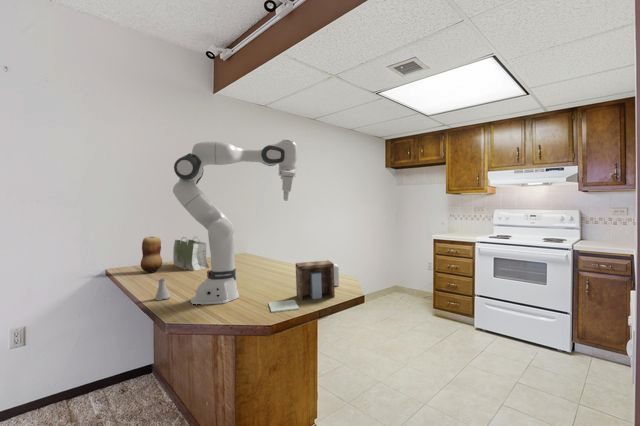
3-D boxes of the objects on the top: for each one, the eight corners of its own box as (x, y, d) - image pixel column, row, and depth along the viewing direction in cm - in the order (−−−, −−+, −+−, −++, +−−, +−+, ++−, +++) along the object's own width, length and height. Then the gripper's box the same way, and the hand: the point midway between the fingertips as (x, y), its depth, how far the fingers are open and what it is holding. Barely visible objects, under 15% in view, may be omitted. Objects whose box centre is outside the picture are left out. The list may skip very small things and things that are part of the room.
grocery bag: (210, 267, 232) (209, 236, 231) (192, 271, 222) (191, 238, 221) (190, 263, 253) (188, 234, 252) (172, 266, 243) (171, 236, 242)
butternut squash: (156, 274, 216) (154, 237, 215) (137, 274, 216) (135, 238, 215) (166, 269, 230) (164, 235, 229) (148, 270, 230) (146, 236, 229)
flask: (154, 302, 153) (153, 281, 152) (154, 298, 159) (153, 278, 159) (171, 299, 156) (170, 279, 156) (170, 295, 163) (169, 276, 162)
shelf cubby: (300, 300, 147) (298, 266, 147) (296, 295, 156) (295, 263, 155) (334, 297, 152) (333, 263, 151) (329, 292, 160) (328, 260, 160)
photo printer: (337, 284, 175) (337, 262, 174) (340, 286, 171) (339, 263, 170) (319, 285, 173) (319, 263, 172) (321, 287, 168) (320, 264, 168)
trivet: (271, 312, 133) (271, 311, 133) (268, 303, 144) (268, 302, 144) (299, 309, 136) (299, 307, 136) (294, 301, 147) (294, 299, 147)
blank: (312, 299, 149) (311, 274, 149) (310, 296, 154) (309, 272, 153) (321, 298, 151) (321, 273, 150) (319, 295, 155) (318, 271, 154)
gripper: (280, 172, 170) (279, 198, 171) (281, 171, 150) (279, 200, 151) (292, 173, 171) (290, 199, 172) (294, 173, 151) (292, 201, 152)
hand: (285, 199), depth 161 cm, fingers open, 8 cm apart
